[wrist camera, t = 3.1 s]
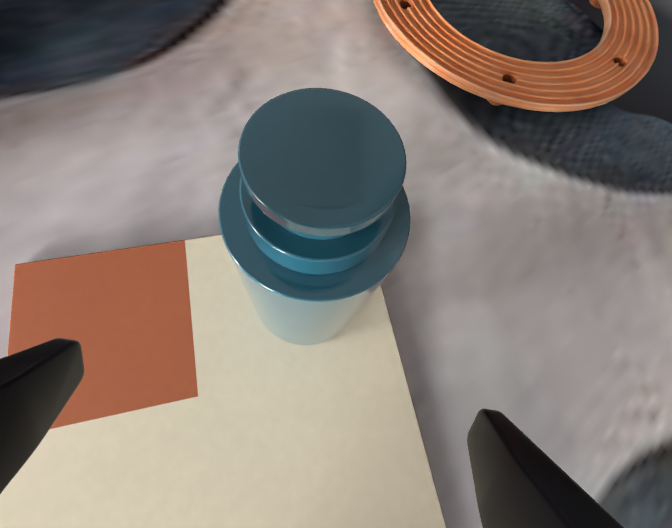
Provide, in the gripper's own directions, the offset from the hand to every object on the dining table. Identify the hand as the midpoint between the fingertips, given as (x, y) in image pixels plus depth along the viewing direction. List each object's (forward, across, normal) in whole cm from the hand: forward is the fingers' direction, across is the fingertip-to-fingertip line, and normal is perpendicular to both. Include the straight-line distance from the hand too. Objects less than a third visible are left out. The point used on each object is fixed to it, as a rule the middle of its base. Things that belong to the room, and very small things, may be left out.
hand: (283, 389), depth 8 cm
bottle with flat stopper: (+12, 0, +4) cm, 13 cm away
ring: (+33, -13, -16) cm, 39 cm away
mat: (+7, +3, +10) cm, 12 cm away
